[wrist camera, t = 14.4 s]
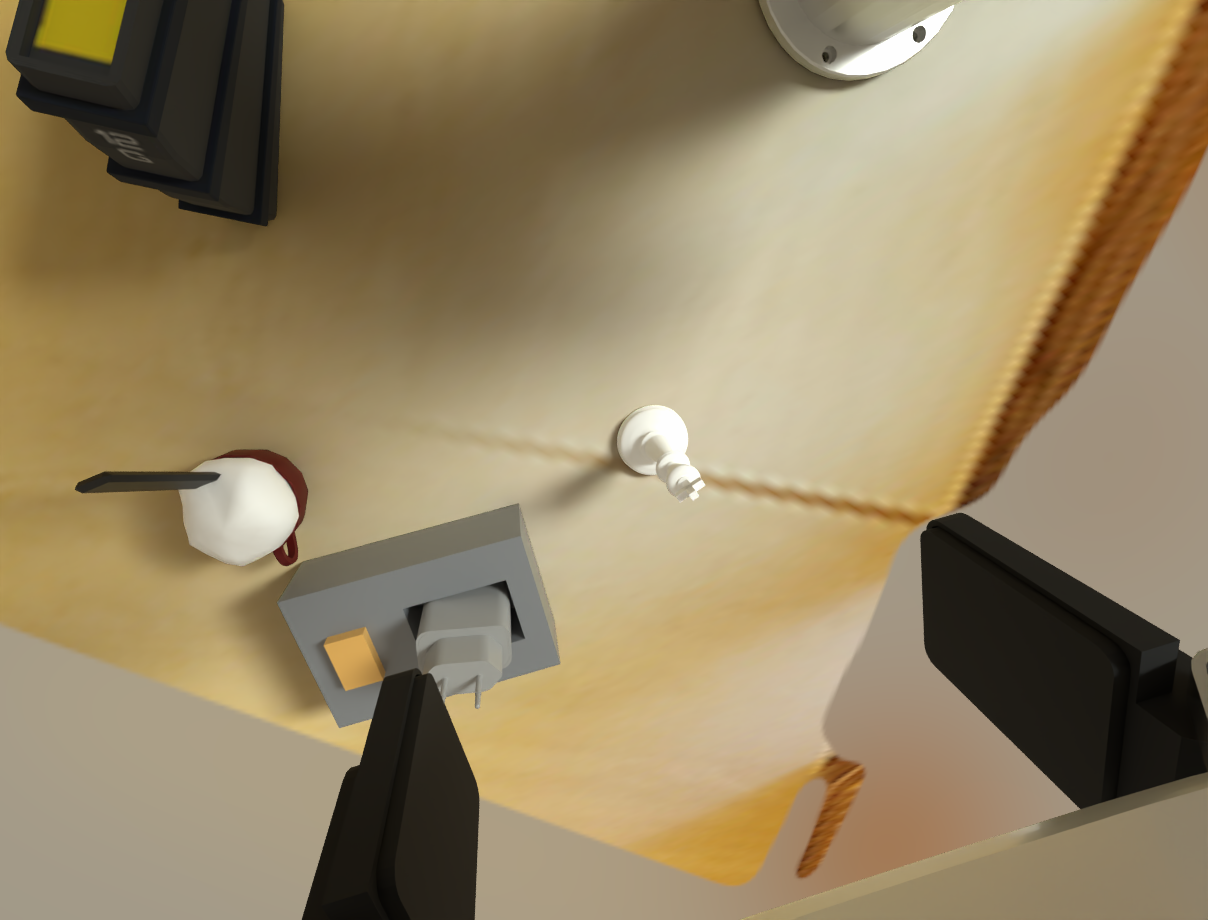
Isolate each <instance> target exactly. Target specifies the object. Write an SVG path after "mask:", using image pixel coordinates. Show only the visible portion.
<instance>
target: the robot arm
mask: <svg viewBox="0 0 1208 920" xmlns="http://www.w3.org/2000/svg"><path fill="white" fill-rule="evenodd" d="M961 1H963V0H759V4H760V7H761V9H762V11H763V14H764V16H765V19H766V21H767V24H768V26H769V28H770V30H771V31H772V33H773V34H774V36H775V37H776V39H777V40H778V42H779V44H780V45H781V46H782V47H783V48H784V49H785V51H786V52H787V53H788V54H789V55H790V56H791V57H792V58H793V59H794V60H795V61H796V62H798V63H799V64H801V65H802V66H804V67H805V68H807V69H808V70H810V71H811V72H814V73H816V74H819V75H822V76H824V77H827V78H830V79H837V80H845V81H852V80H861V79H868V78H871V77H874V76H877V75H880V74H883V73H885V72H888V71H890V70H892V69H894V68H896V67H898V66H900V65H902V64H904V63H905V62H907V61H908V60H909V59H911V58H912V57H913V56H915V55H916V54H917V53H919V52H920V51H921V50H922V49H923V48H924V47H925V46H926V45H927V44H928V43H929V42H930V41H931V40H932V39H933V38H934V37H935V36H936V35H937V33H938V32H939V30H940V29H941V27H942V26H943V25H944V23H945V22H946V20H947V19H948V17H949V16H950V14H951V12H952V10H953V8H954V6H955V5H956V4H958V3H959V2H961ZM822 54H823V55H824V56H825V62H824V61H823V58H822ZM920 542H921V568H922V595H923V618H924V619H923V620H924V644H925V650H926V653H927V655H928V657H929V659H930V661H931V662H932V663H933V664H934V666H935V667H936V668H937V669H938V670H939V671H941V672H942V674H943V675H945V676H946V678H947V679H949V680H950V681H951V682H952V683H953V684H954V685H955V686H956V687H957V688H958V689H959V690H960V691H961V692H962V693H963V694H964V695H965V696H966V697H967V698H968V699H969V700H970V701H971V702H972V703H973V704H974V705H975V706H976V707H977V708H978V709H979V710H980V711H981V712H982V713H983V714H984V715H985V716H986V717H987V718H988V719H989V720H990V721H991V722H992V723H993V724H994V725H995V726H996V727H997V728H998V729H999V730H1000V731H1001V732H1002V733H1003V734H1005V736H1007V737H1008V738H1009V739H1010V740H1011V741H1012V742H1013V743H1014V744H1015V745H1016V746H1017V747H1018V748H1019V749H1020V750H1021V751H1022V752H1023V753H1024V754H1025V755H1026V756H1027V757H1028V758H1029V759H1030V760H1031V761H1032V762H1033V763H1034V764H1035V765H1036V766H1037V767H1038V768H1039V769H1040V770H1041V771H1042V772H1043V773H1044V774H1045V775H1047V777H1048V778H1049V779H1050V780H1051V781H1052V782H1053V783H1055V785H1056V786H1057V787H1058V788H1060V790H1062V791H1063V793H1065V794H1066V795H1067V796H1068V797H1069V798H1070V799H1071V800H1072V801H1073V802H1074V803H1075V804H1076V805H1077V806H1078V807H1079V808H1080V810H1077V811H1074V812H1071V813H1068V814H1065V815H1062V816H1058V817H1055V818H1052V819H1049V820H1046V821H1043V822H1040V823H1036V824H1033V825H1030V826H1027V827H1024V828H1021V829H1018V830H1015V831H1011V832H1009V833H1005V834H1002V835H999V836H996V837H993V838H989V839H986V840H983V841H980V842H977V843H974V844H971V845H968V846H965V847H961V848H958V849H955V850H952V851H949V852H946V853H943V854H940V855H936V856H933V857H930V858H927V859H924V860H921V861H918V862H915V863H912V864H909V865H906V866H902V867H900V868H896V869H893V870H891V871H887V872H884V873H881V874H878V875H875V876H872V877H869V878H866V879H863V880H859V881H856V882H853V883H850V884H847V885H844V886H841V887H838V888H835V889H832V890H829V891H826V892H823V893H820V894H816V895H813V896H810V897H807V898H804V899H802V900H798V901H795V902H792V903H789V904H786V905H783V906H780V907H777V908H774V909H771V910H768V911H765V912H761V913H759V914H755V915H752V916H749V917H746V918H743V919H740V920H1208V648H1206V649H1204V650H1201V651H1199V652H1197V654H1196V655H1195V656H1194V658H1192V657H1190V656H1189V655H1187V654H1185V653H1184V652H1182V651H1180V650H1179V643H1180V640H1179V639H1177V638H1175V637H1174V636H1172V635H1170V634H1168V633H1167V632H1165V631H1163V630H1162V629H1160V628H1158V627H1157V626H1155V625H1153V624H1151V623H1150V622H1148V621H1146V620H1145V619H1143V618H1141V617H1140V616H1138V615H1136V614H1134V613H1133V612H1131V611H1129V610H1128V609H1126V608H1124V607H1123V606H1121V605H1119V604H1118V603H1116V602H1114V601H1112V600H1111V599H1109V598H1107V597H1106V596H1104V595H1102V594H1101V593H1099V592H1097V591H1095V590H1094V589H1092V588H1090V587H1089V586H1087V585H1085V584H1084V583H1082V582H1080V581H1078V580H1077V579H1075V578H1073V577H1072V576H1070V575H1068V574H1067V573H1065V572H1063V571H1062V570H1060V569H1058V568H1056V567H1055V566H1053V565H1051V564H1049V563H1048V562H1046V561H1044V560H1043V559H1041V558H1039V557H1038V556H1036V555H1034V554H1033V553H1031V552H1029V551H1028V550H1026V549H1024V548H1022V547H1021V546H1019V545H1017V544H1016V543H1014V542H1012V541H1011V540H1009V539H1007V538H1005V537H1004V536H1002V535H1000V534H999V533H997V532H995V531H993V530H992V529H990V528H989V527H986V526H985V525H983V524H982V523H980V522H978V521H977V520H975V519H973V518H972V517H970V516H968V515H966V514H964V513H956V514H953V515H949V516H946V517H942V518H939V519H935V520H932V521H930V522H929V523H928V525H927V530H926V531H923V532H922V534H921V540H920ZM478 822H479V792H478V787H477V783H476V780H475V777H474V775H473V772H472V770H471V767H470V765H469V763H468V760H467V758H466V755H465V753H464V750H463V748H462V745H461V743H460V740H459V738H458V736H457V733H456V731H455V728H454V726H453V723H452V721H451V718H450V716H449V714H448V711H447V709H446V706H445V704H444V701H443V699H442V696H441V694H440V691H439V689H438V687H437V684H436V682H435V679H434V677H433V675H432V674H431V673H427V674H423V675H422V673H421V671H420V670H419V669H418V668H414V669H411V670H407V671H404V672H400V673H397V674H393V675H390V676H386V677H385V678H384V679H383V682H382V685H381V689H380V692H379V696H378V700H377V703H376V707H375V711H374V714H373V718H372V722H371V725H370V729H369V733H368V736H367V740H366V744H365V747H364V751H363V755H362V758H361V762H360V765H358V766H355V767H351V768H350V769H349V770H348V771H347V772H346V774H345V777H344V779H343V783H342V785H341V789H340V792H339V795H338V799H337V802H336V806H335V809H334V812H333V816H332V819H331V822H330V826H329V829H328V833H327V836H326V839H325V843H324V846H323V850H322V853H321V856H320V860H319V863H318V867H317V870H316V873H315V877H314V880H313V883H312V887H311V890H310V893H309V897H308V900H307V904H306V907H305V911H304V914H303V917H302V920H475V898H476V896H475V895H476V873H477V849H478V824H479V823H478Z"/></svg>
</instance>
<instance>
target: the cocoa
mask: <svg viewBox="0 0 1208 920" xmlns="http://www.w3.org/2000/svg"><path fill="white" fill-rule="evenodd" d="M75 490H76V491H79V492H81V493H103V492H130V491H157V490H179V494H180V498H181V502H182V505H183V523H184V526H185V529H186V532H187V535H188V539H189V545H191V546H193V547H195V548H196V549H198V550H200V551H202V552H203V553H205V554H207V555H209V556H211V557H213V558H215V559H217V560H219V561H221V562H223V563H226V564H232V565H238V566H245V565H247V564H249V563H251V562H253V561H256V560H258V559H260V558H262V557H264V556H265V555H267V554H269V553H271V552H273V553H274V555H275V557H276V559H277V560H278V562H279V563H280V564H282V565H283V566H289V565H291V564H293V563H294V562H296V560H297V559H298V547H297V541H296V536H295V530H296V529H297V528H298V526H299V525H300V524H301V523H302V521H303V519H304V515H305V510H306V503H307V497H308V489H307V486H306V483H305V481H304V478H303V475H302V473H301V472H300V471H299V470H298V469H297V468H296V467H295V466H294V465H293V464H292V463H291V462H290V461H289V460H288V459H287V458H286V457H283V456H281V455H278V454H276V453H274V452H271V451H269V450H234V451H230V452H228V453H226V454H224V455H221V456H219V457H217V458H215V459H213V460H209V461H204V462H203V463H201V464H200V465H199V466H197V467H196V468H194V469H193V470H192V471H190V472H102V473H100V474H98V475H95V476H93V477H90V478H88V479H85V480H83V481H81V482H78V484H77V486H76V488H75ZM286 542H287V547H288V556H287V554H286V553H285V551H284V548H283V545H284V544H285V543H286Z"/></svg>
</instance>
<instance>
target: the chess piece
mask: <svg viewBox="0 0 1208 920" xmlns="http://www.w3.org/2000/svg"><path fill="white" fill-rule="evenodd" d="M687 445H688V433H687V429H686V427H685V424H684V422H683V420H682V419H681V418H680V416H679V415H678V414H677V413H676V412H674V411H673V410H671V409H669V408H667V407H664V406H660V405H649V406H645V407H642V408H639V409H637V410H635V411H634V412H632V413H631V414H630V415H629V416H628V417H627V418H626V419H625V420H624V422H623V423H622V425H621V427H620V429H619V432H618V436H617V448H618V452H619V454H620V456H621V458H622V460H623V461H624V462H625V464H626V465H628V466H629V467H630V468H631V469H633V470H634V471H636V472H638V473H641V474H644V475H657V476H658V478H659V479H660V480H661V481H663V482H665V483H666V486H667V489H668V491H669V492H670V493H671V494H672V495H673V496H675V497H677V499H678V500H679V502H682V501H683V500H685V499H686V498H688V497H689V496H690V498H691V499H692V500H695V499H696V498H698V497H699V495H698V493H697V491H698V490H699V489H701V488H702V487H704V486H705V484H704V482H703V481H702V479H701V477H700V474H699V472H698V471H697V469H696V468H694V467H693V466H690V462H689V459H688V457H687V456H686V455H685V452H686V449H687Z"/></svg>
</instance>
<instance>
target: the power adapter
mask: <svg viewBox="0 0 1208 920" xmlns="http://www.w3.org/2000/svg"><path fill="white" fill-rule="evenodd" d="M416 650H417V659H418V667H419V669H420V671H421V672H422V673H423V674H427V673H431V674H432V675H433V677H434V679H435V682H436V684H437V687H438V689H439V691H440V694H441V696H442V699H443V701H444V704H445V699H446V695H454V694H464V693H474V692H475V696H476V697H475V708H476V709H478V708H480V698H481V692H483V691H487V690H489V689H491V688H492V687H493V686H494V685H495V684H496V683H497V682H498V680H499V679H500V678H501V677H502V669H503V668H506V667H507V666H508V665H509V664H510V662H511V660H512V648H511V603H510V591H509V588H508V585H507V582H506V580H505V581H501V582H497V583H494V584H490V585H487V586H483V587H480V588H476V589H472V590H469V591H465V592H462V593H458V594H454V595H451V596H447V597H444V598H440V599H436V600H433V601H429V602H426V603H424V607H423V611H422V616H421V620H420V625H419V630H418V634H417V639H416ZM423 674H422V675H423Z"/></svg>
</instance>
